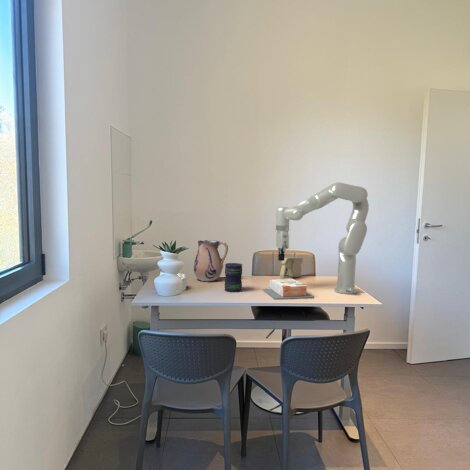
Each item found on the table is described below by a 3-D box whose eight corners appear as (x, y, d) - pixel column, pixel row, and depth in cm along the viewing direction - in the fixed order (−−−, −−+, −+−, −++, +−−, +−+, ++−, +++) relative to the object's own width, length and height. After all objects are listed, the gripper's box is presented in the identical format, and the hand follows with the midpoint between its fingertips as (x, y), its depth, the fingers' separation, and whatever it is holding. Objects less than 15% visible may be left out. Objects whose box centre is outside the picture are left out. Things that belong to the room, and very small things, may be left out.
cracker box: (291, 277, 242) (307, 285, 222) (291, 287, 243) (306, 296, 223) (269, 278, 238) (283, 286, 218) (268, 288, 239) (282, 297, 219)
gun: (283, 281, 261) (285, 258, 261) (278, 281, 263) (280, 257, 263) (301, 279, 281) (303, 257, 281) (297, 278, 283) (298, 257, 283)
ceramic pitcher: (194, 277, 269) (195, 239, 266) (227, 277, 270) (227, 239, 267) (192, 282, 251) (193, 242, 249) (227, 283, 252) (228, 242, 250)
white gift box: (185, 286, 241) (186, 272, 240) (186, 291, 228) (186, 276, 227) (167, 286, 240) (168, 272, 239) (167, 292, 227) (167, 276, 226)
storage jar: (228, 287, 241) (229, 257, 239) (244, 289, 237) (245, 258, 235) (221, 291, 231) (222, 259, 230) (238, 293, 228) (238, 261, 226)
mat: (313, 298, 221) (313, 297, 221) (274, 299, 216) (274, 298, 216) (298, 288, 242) (298, 287, 242) (262, 290, 237) (262, 288, 237)
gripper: (293, 229, 230) (291, 262, 232) (284, 227, 245) (283, 258, 247) (280, 229, 229) (279, 262, 230) (272, 227, 243) (271, 258, 245)
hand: (281, 260), depth 239 cm, fingers closed
